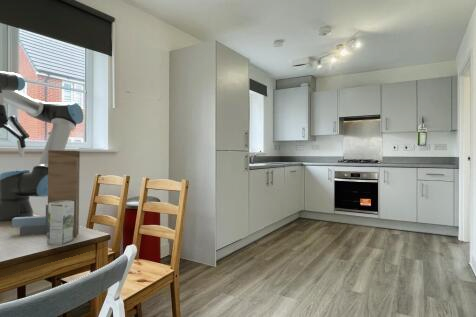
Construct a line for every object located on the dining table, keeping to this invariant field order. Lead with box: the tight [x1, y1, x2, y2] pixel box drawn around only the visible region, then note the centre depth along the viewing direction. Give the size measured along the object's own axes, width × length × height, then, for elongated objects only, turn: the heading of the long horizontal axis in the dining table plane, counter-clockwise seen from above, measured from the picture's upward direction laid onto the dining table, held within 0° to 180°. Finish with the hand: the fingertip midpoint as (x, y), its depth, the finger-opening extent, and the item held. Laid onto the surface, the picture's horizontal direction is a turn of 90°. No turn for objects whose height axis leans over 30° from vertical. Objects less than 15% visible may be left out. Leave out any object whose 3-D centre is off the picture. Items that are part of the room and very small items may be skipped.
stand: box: [46, 150, 81, 239], centre depth 109 cm, size 8×9×32 cm
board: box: [19, 225, 47, 237], centre depth 115 cm, size 7×14×3 cm, turn 112°
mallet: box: [11, 203, 48, 228], centre depth 114 cm, size 17×4×8 cm, turn 112°
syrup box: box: [46, 200, 74, 245], centre depth 101 cm, size 6×6×14 cm
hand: (3, 157), depth 116 cm, fingers open, 13 cm apart
